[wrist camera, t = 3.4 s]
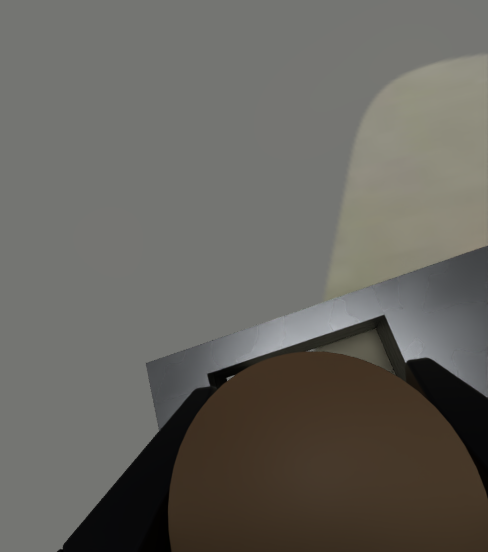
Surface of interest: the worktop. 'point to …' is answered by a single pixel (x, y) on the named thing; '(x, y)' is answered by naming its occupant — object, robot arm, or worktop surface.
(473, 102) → the worktop surface
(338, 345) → the worktop surface
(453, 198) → the worktop surface
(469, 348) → the grey copper flat frame
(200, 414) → the walnut peg
